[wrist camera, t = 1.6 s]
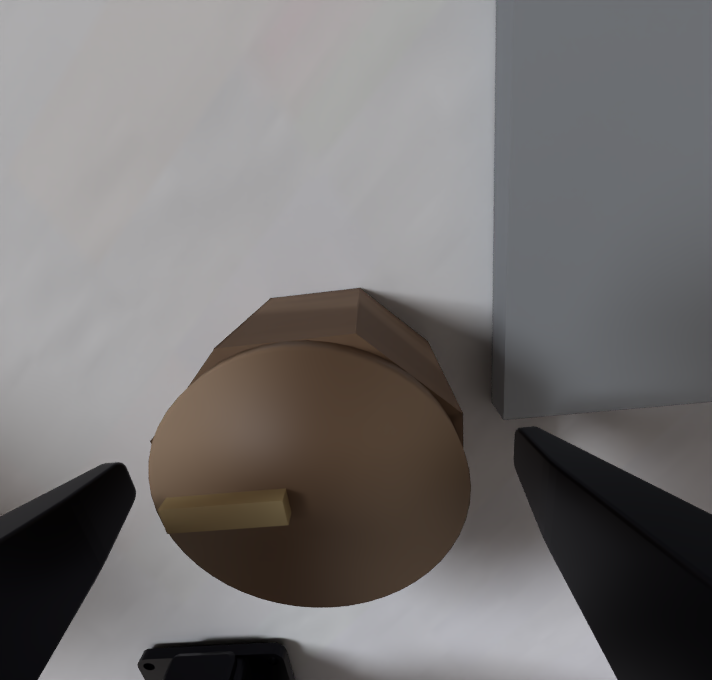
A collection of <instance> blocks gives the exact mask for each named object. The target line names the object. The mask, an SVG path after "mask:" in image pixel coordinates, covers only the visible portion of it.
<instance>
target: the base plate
mask: <svg viewBox="0 0 712 680" xmlns="http://www.w3.org/2000/svg"><path fill="white" fill-rule="evenodd" d="M702 402H712V0H496V70H495V158H494V245H493V332H492V404H493V405H494V407H495V408H496V410H497V411H498V413H499V414H500V416H501V417H502V419H503V420H509V419H520V418H532V417H543V416H554V415H566V414H577V413H589V412H600V411H611V410H623V409H634V408H646V407H657V406H668V405H680V404H691V403H702Z"/></svg>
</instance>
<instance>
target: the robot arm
mask: <svg viewBox="0 0 712 680" xmlns="http://www.w3.org/2000/svg"><path fill="white" fill-rule="evenodd" d="M514 465H515V469H516V472H517V475H518V477H519V479H520V482H521V484H522V487H523V489H524V492H525V494H526V497H527V499H528V502H529V504H530V507H531V509H532V512H533V514H534V517H535V519H536V522H537V524H538V527H539V529H540V531H541V534H542V536H543V538H544V541H545V543H546V545H547V547H548V549H549V551H550V553H551V554H552V556H553V558H554V560H555V562H556V564H557V566H558V568H559V570H560V571H561V573H562V575H563V577H564V579H565V581H566V583H567V585H568V587H569V589H570V590H571V592H572V594H573V596H574V598H575V600H576V602H577V604H578V606H579V607H580V609H581V611H582V613H583V615H584V617H585V619H586V621H587V623H588V625H589V626H590V628H591V630H592V632H593V634H594V636H595V638H596V640H597V642H598V643H599V645H600V647H601V649H602V651H603V653H604V655H605V657H606V659H607V661H608V662H609V664H610V666H611V668H612V670H613V672H614V674H615V676H616V678H617V680H712V514H710V513H708V512H706V511H704V510H702V509H700V508H698V507H696V506H694V505H692V504H690V503H688V502H686V501H684V500H682V499H680V498H678V497H676V496H674V495H672V494H670V493H668V492H666V491H664V490H662V489H660V488H658V487H656V486H654V485H652V484H650V483H648V482H646V481H644V480H642V479H640V478H638V477H636V476H634V475H632V474H630V473H628V472H626V471H624V470H622V469H620V468H618V467H616V466H614V465H612V464H610V463H608V462H606V461H604V460H602V459H600V458H598V457H596V456H594V455H592V454H590V453H588V452H586V451H584V450H582V449H580V448H578V447H576V446H574V445H572V444H570V443H568V442H566V441H564V440H562V439H560V438H558V437H556V436H554V435H552V434H550V433H548V432H546V431H544V430H542V429H540V428H538V427H523V428H518V429H517V430H516V431H515V439H514ZM135 497H136V490H135V487H134V484H133V482H132V480H131V477H130V475H129V472H128V470H127V468H126V466H125V465H124V464H123V463H120V462H116V463H105V464H102V465H99V466H97V467H96V468H94V469H92V470H90V471H88V472H86V473H84V474H82V475H80V476H78V477H76V478H74V479H72V480H70V481H68V482H66V483H65V484H63V485H61V486H59V487H57V488H55V489H53V490H51V491H49V492H47V493H45V494H43V495H41V496H39V497H37V498H36V499H34V500H32V501H30V502H28V503H26V504H24V505H22V506H20V507H18V508H16V509H14V510H12V511H10V512H8V513H6V514H5V515H3V516H1V517H0V680H38V678H39V677H40V675H41V673H42V671H43V670H44V668H45V666H46V664H47V663H48V661H49V659H50V658H51V656H52V654H53V652H54V651H55V649H56V647H57V646H58V644H59V642H60V640H61V639H62V637H63V635H64V633H65V632H66V630H67V628H68V627H69V625H70V623H71V621H72V620H73V618H74V616H75V614H76V613H77V611H78V609H79V608H80V606H81V604H82V602H83V601H84V599H85V597H86V595H87V594H88V592H89V590H90V589H91V587H92V585H93V583H94V582H95V580H96V578H97V576H98V575H99V573H100V571H101V569H102V567H103V565H104V563H105V561H106V559H107V557H108V555H109V553H110V551H111V549H112V547H113V545H114V543H115V541H116V538H117V536H118V534H119V532H120V530H121V528H122V526H123V524H124V522H125V520H126V518H127V515H128V513H129V511H130V509H131V507H132V505H133V503H134V500H135ZM138 668H139V670H140V672H141V673H142V675H143V677H144V679H145V680H295V678H294V675H293V672H292V668H291V665H290V661H289V658H288V655H287V651H286V649H285V647H284V646H283V645H281V644H278V643H255V644H235V645H214V646H194V647H173V648H153V649H147V650H145V651H144V653H143V655H142V657H141V658H140V660H139V662H138Z"/></svg>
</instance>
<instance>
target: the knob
mask: <svg viewBox="0 0 712 680" xmlns="http://www.w3.org/2000/svg"><path fill="white" fill-rule="evenodd" d="M150 442H151V444H152V445H151V451H150V456H149V484H150V490H151V496H152V499H153V502H154V505H155V508H156V511H157V513H158V515H159V517H160V519H161V521H162V523H163V525H164V527H165V530H166V532H167V534H170V536H171V537H172V539H173V540H174V541H175V543H176V544H177V545H178V546H179V547H180V548H181V550H182V551H183V552H184V553H185V554H186V555H187V556H188V557H189V558H190V559H191V560H193V561H194V562H195V563H196V564H197V565H198V566H199V567H201V568H202V569H204V570H205V571H206V572H208V573H209V574H210V575H212V576H213V577H215V578H217V579H218V580H220V581H222V582H223V583H225V584H227V585H229V586H231V587H233V588H235V589H237V590H240V591H242V592H244V593H247V594H249V595H252V596H255V597H258V598H261V599H264V600H268V601H272V602H276V603H281V604H287V605H293V606H301V607H340V606H350V605H355V604H360V603H365V602H369V601H372V600H376V599H379V598H382V597H385V596H388V595H390V594H392V593H395V592H397V591H400V590H401V589H403V588H405V587H407V586H409V585H411V584H412V583H414V582H416V581H417V580H418V579H420V578H421V577H423V576H424V575H426V574H427V573H428V572H429V571H430V570H432V569H433V568H434V567H435V566H436V565H437V564H438V563H439V562H440V561H441V560H442V559H443V558H444V556H445V555H446V554H447V553H448V552H449V550H450V549H451V548H452V546H453V545H454V543H455V541H456V540H457V538H458V536H459V535H460V532H461V530H462V528H463V525H464V523H465V520H466V517H467V513H468V509H469V504H470V492H471V483H470V473H469V467H468V463H467V459H466V456H465V452H464V450H463V412H462V410H461V408H460V406H459V404H458V402H457V400H456V398H455V396H454V394H453V392H452V390H451V388H450V386H449V384H448V382H447V380H446V378H445V376H444V374H443V371H442V369H441V367H440V365H439V363H438V361H437V359H436V357H435V355H434V353H433V351H432V349H431V347H430V345H429V343H428V341H427V340H425V339H424V338H423V337H422V336H420V335H419V334H418V333H416V332H415V331H414V330H413V329H411V328H410V327H409V326H408V325H406V324H405V323H404V322H402V321H401V320H400V319H399V318H397V317H396V316H395V315H393V314H392V313H391V312H390V311H388V310H387V309H386V308H385V307H383V306H382V305H381V304H379V303H378V302H377V301H376V300H374V299H373V298H372V297H371V296H369V295H368V294H367V293H365V292H364V291H363V290H362V289H360V288H355V289H347V290H338V291H329V292H321V293H312V294H303V295H295V296H286V297H277V298H270V299H269V300H268V301H267V302H266V303H265V304H264V305H262V306H261V307H260V308H259V309H258V310H257V311H256V312H255V313H253V314H252V315H251V316H250V317H249V318H248V319H247V320H246V321H244V322H243V323H242V324H241V325H240V326H239V327H238V328H237V329H235V330H234V331H233V332H232V333H231V334H230V335H229V336H227V337H226V338H225V339H224V340H223V341H222V342H221V343H220V344H218V345H217V346H216V347H215V348H214V350H213V352H212V353H211V354H210V356H209V357H208V359H207V360H206V362H205V363H204V365H203V366H202V368H201V369H200V370H199V372H198V373H197V375H196V376H195V378H194V379H193V381H192V382H191V384H190V385H189V386H188V388H187V389H186V390H185V391H184V392H183V393H182V394H181V395H180V396H179V397H178V398H177V400H176V401H175V402H174V403H173V404H172V406H171V407H170V408H169V409H168V411H167V412H166V414H165V415H164V417H163V419H162V421H161V423H160V424H159V426H158V428H157V431H156V433H155V436H154V437H153V439H152V440H151V441H150Z"/></svg>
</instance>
